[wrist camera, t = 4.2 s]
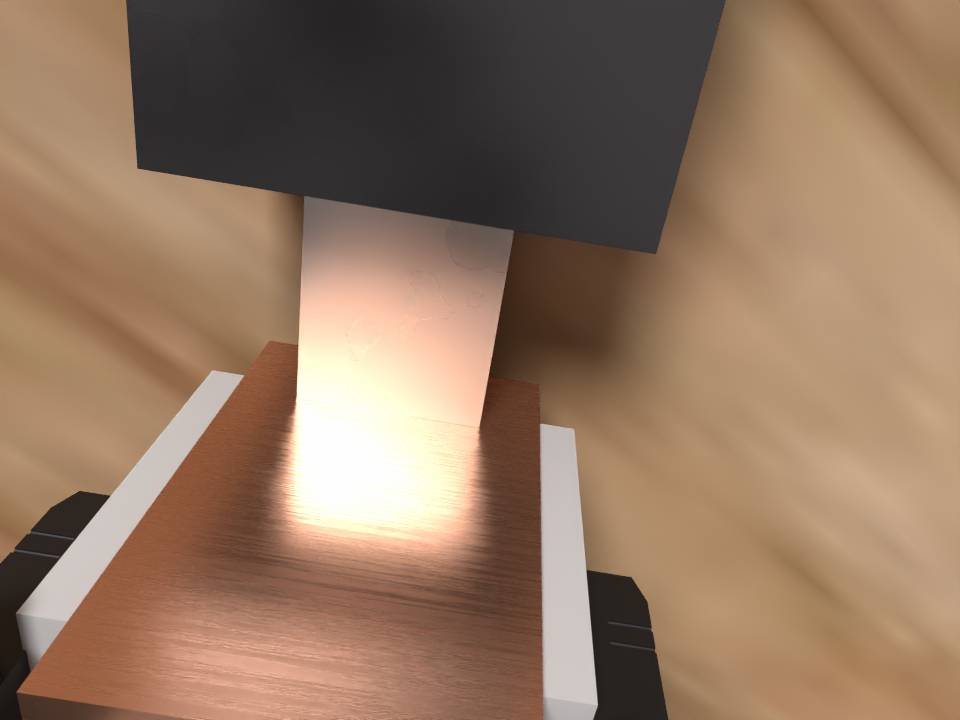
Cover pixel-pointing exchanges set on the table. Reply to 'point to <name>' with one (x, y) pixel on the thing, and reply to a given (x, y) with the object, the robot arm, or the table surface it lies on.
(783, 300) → the table surface
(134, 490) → the robot arm
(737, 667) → the table surface
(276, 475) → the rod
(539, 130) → the sleeve
